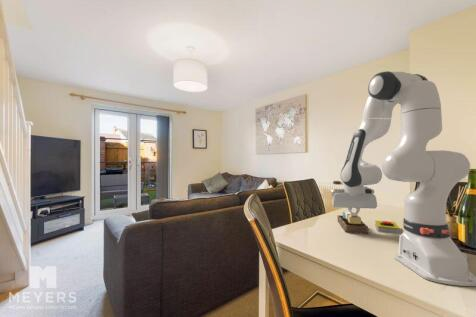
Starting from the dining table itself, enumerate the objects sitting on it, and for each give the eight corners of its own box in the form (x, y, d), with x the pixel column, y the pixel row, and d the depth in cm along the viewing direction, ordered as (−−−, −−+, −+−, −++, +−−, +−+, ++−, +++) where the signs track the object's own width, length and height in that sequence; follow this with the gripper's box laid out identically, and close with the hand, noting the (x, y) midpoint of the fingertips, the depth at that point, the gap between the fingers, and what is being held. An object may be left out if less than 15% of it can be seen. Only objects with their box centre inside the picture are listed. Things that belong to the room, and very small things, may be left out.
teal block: (354, 221, 120) (354, 214, 120) (344, 221, 121) (344, 213, 121) (352, 219, 124) (352, 212, 124) (342, 218, 125) (342, 212, 125)
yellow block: (361, 226, 108) (360, 217, 108) (350, 225, 109) (349, 217, 109) (358, 223, 112) (358, 215, 112) (347, 223, 113) (347, 215, 113)
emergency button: (377, 224, 107) (374, 217, 121) (377, 233, 107) (374, 225, 120) (400, 226, 103) (394, 218, 116) (401, 236, 103) (394, 227, 116)
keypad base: (368, 233, 106) (368, 226, 106) (345, 232, 108) (345, 225, 108) (356, 222, 125) (356, 216, 125) (337, 221, 127) (337, 215, 127)
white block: (357, 221, 114) (357, 214, 114) (347, 221, 115) (347, 213, 115) (355, 219, 118) (355, 212, 118) (345, 219, 119) (345, 211, 119)
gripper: (332, 189, 110) (333, 217, 110) (378, 190, 105) (378, 219, 105) (330, 188, 116) (331, 214, 117) (373, 188, 111) (373, 215, 112)
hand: (353, 216), depth 111 cm, fingers closed, pressing on yellow block
